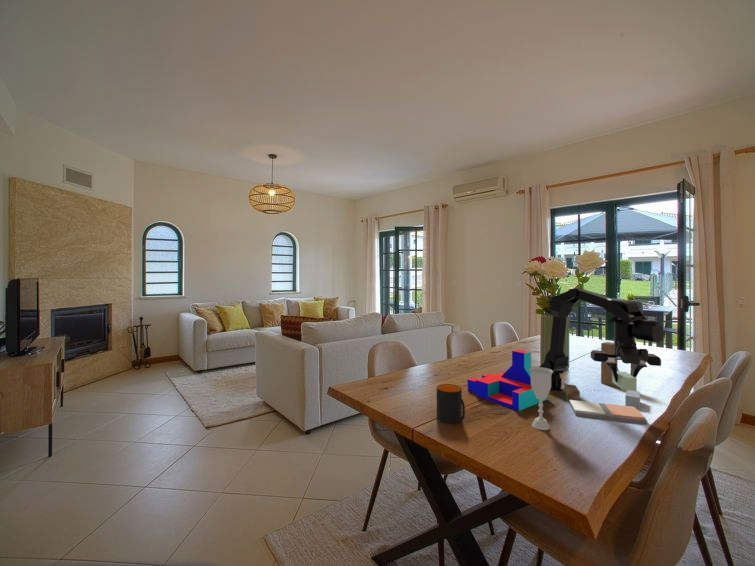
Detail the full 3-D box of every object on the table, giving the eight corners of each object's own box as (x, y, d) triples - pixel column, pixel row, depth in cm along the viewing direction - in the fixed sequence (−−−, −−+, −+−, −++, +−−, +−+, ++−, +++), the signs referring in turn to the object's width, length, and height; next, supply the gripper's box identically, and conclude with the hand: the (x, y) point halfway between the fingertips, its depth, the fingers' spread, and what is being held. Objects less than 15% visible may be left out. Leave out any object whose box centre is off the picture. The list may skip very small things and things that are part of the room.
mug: (453, 430, 104) (453, 397, 104) (431, 416, 115) (431, 386, 114) (474, 425, 107) (474, 393, 107) (451, 411, 118) (451, 382, 118)
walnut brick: (567, 400, 128) (567, 390, 128) (564, 393, 136) (564, 384, 135) (579, 402, 127) (579, 391, 127) (575, 395, 134) (575, 385, 134)
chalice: (532, 419, 111) (532, 365, 111) (555, 425, 107) (555, 369, 106) (526, 427, 105) (526, 370, 105) (549, 433, 101) (550, 374, 101)
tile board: (575, 415, 114) (575, 410, 114) (569, 402, 125) (569, 398, 125) (646, 424, 107) (646, 419, 107) (633, 410, 118) (633, 405, 118)
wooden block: (628, 387, 141) (629, 345, 141) (622, 389, 140) (622, 346, 139) (607, 381, 150) (607, 341, 149) (600, 383, 148) (600, 342, 148)
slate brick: (625, 406, 122) (625, 395, 122) (626, 399, 128) (627, 389, 128) (639, 409, 120) (639, 398, 120) (640, 402, 126) (640, 391, 126)
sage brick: (622, 389, 111) (622, 377, 111) (612, 382, 118) (612, 370, 118) (636, 390, 110) (636, 378, 110) (625, 382, 117) (625, 371, 117)
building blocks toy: (492, 383, 150) (492, 342, 149) (547, 400, 129) (547, 353, 129) (463, 391, 139) (463, 348, 139) (518, 411, 118) (518, 360, 118)
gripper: (598, 339, 109) (598, 387, 110) (669, 343, 103) (668, 393, 103) (590, 334, 120) (590, 377, 120) (654, 337, 113) (653, 382, 114)
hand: (623, 382), depth 114 cm, fingers closed on sage brick, 4 cm apart
